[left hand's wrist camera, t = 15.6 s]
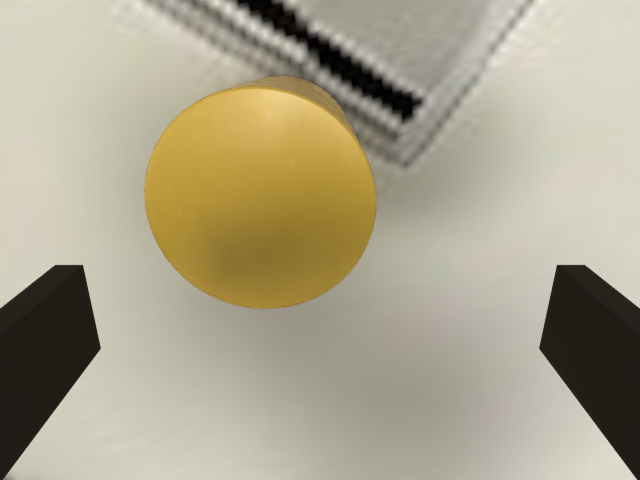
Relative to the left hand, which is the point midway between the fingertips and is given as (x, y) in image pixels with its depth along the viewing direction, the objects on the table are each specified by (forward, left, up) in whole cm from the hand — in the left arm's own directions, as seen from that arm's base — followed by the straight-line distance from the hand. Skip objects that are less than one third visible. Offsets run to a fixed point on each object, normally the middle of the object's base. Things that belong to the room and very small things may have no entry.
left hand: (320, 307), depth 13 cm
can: (0, +3, -15) cm, 15 cm away
